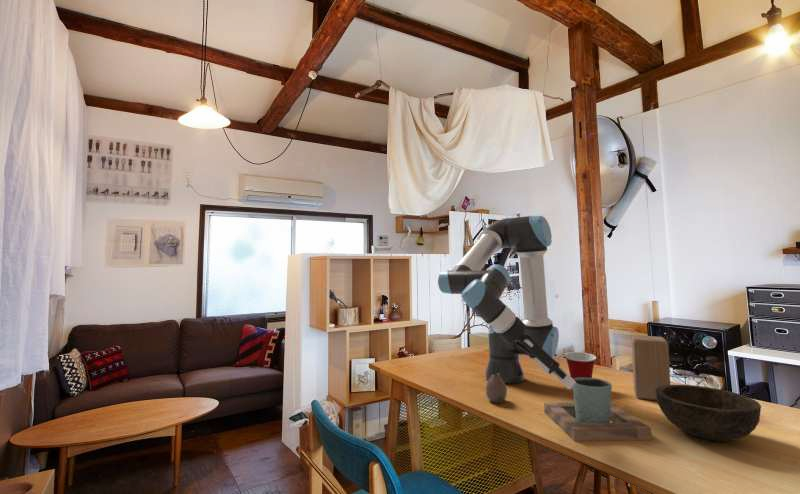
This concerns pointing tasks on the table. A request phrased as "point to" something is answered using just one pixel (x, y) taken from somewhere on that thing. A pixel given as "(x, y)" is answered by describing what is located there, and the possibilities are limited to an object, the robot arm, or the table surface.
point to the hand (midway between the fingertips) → (561, 378)
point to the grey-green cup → (592, 400)
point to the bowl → (709, 411)
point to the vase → (496, 389)
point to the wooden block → (649, 365)
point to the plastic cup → (580, 364)
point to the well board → (597, 424)
